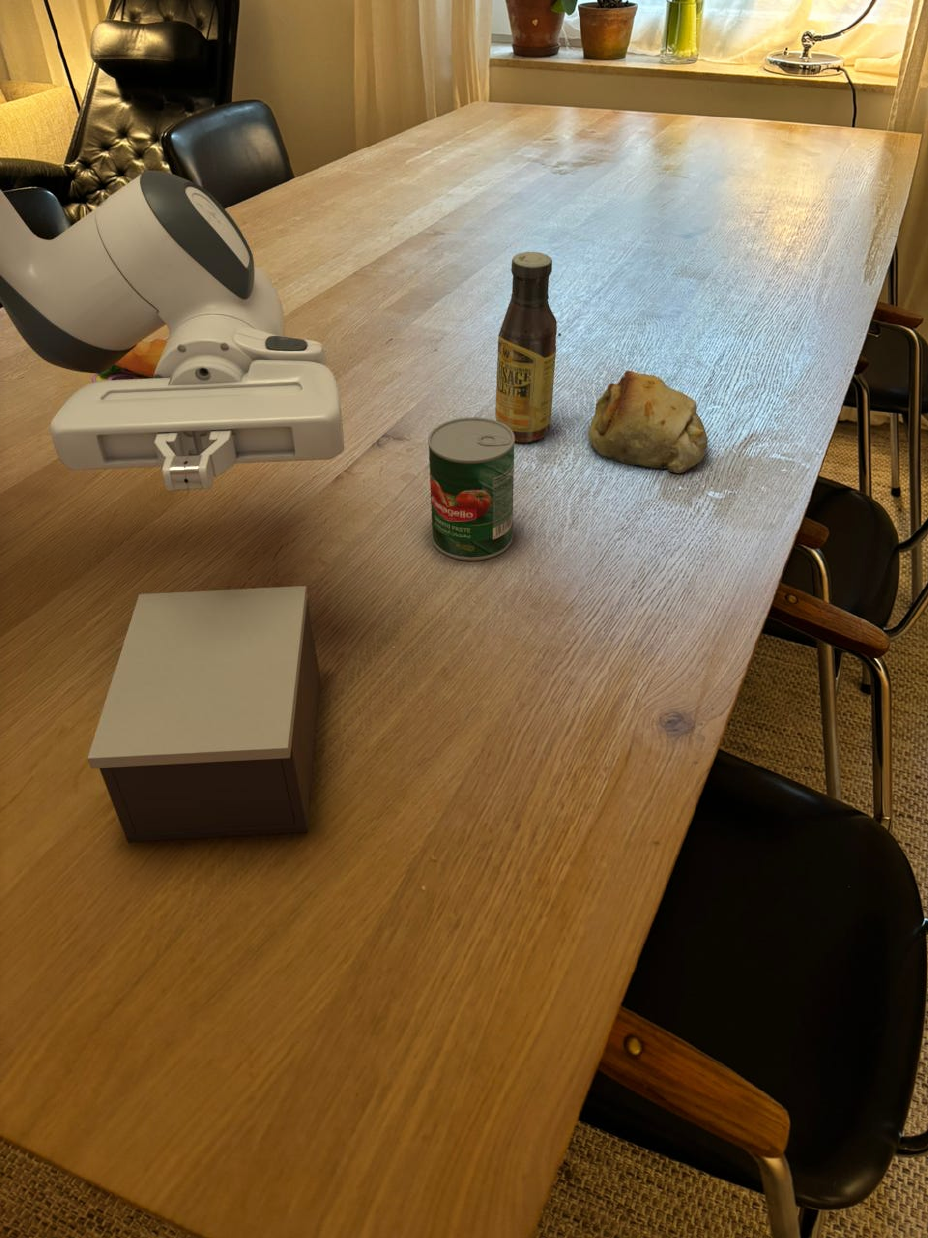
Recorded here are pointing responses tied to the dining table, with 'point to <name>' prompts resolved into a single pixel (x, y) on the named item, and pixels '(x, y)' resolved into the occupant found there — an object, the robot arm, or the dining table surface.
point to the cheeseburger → (135, 363)
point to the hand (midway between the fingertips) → (186, 481)
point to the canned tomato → (472, 487)
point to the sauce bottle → (527, 351)
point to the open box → (226, 782)
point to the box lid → (204, 679)
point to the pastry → (648, 425)
